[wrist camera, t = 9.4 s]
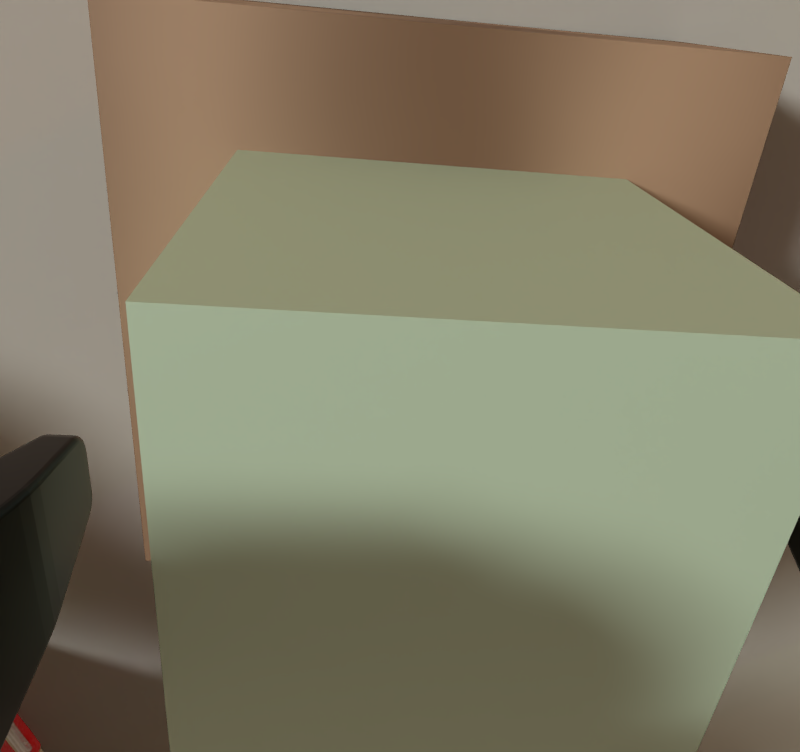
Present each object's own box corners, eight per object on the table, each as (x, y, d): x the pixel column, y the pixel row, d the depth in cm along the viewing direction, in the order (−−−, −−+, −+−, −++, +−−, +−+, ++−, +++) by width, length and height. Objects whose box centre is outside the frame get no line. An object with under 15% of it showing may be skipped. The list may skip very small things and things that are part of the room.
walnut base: (186, 448, 18) (145, 560, 14) (157, -8, 13) (86, -10, 10) (578, 462, 19) (631, 571, 15) (680, 42, 14) (792, 57, 10)
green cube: (243, 478, 13) (173, 792, 8) (237, 149, 11) (125, 302, 5) (555, 489, 14) (680, 789, 9) (626, 179, 11) (874, 342, 6)
